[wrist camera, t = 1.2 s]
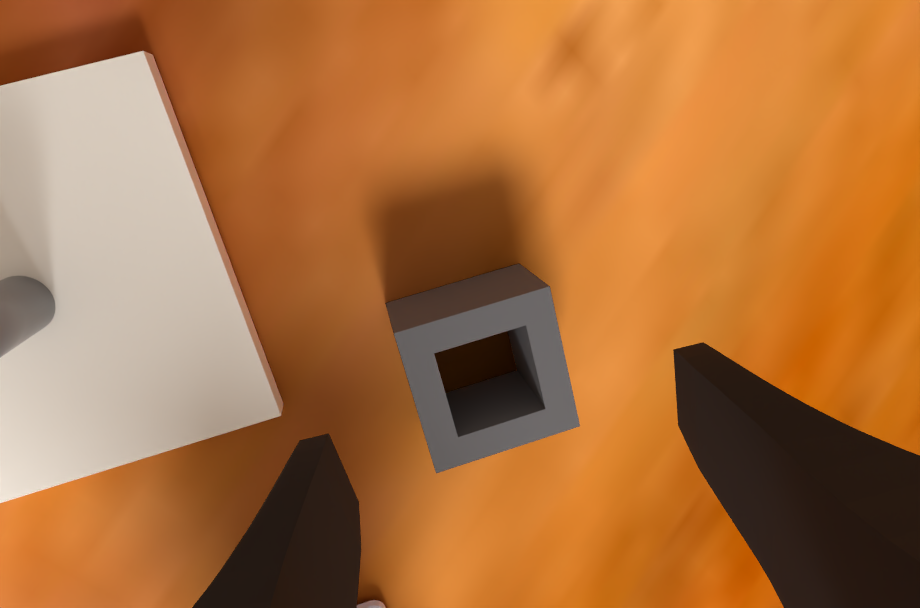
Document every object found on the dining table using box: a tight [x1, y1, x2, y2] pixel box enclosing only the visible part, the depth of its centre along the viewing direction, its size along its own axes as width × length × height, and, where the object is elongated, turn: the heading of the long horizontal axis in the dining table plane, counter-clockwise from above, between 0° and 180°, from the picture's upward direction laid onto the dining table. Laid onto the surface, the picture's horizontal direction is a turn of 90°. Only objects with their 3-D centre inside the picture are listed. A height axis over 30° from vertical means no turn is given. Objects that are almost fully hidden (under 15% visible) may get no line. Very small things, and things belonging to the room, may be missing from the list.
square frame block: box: [386, 264, 580, 473], centre depth 22 cm, size 5×5×4 cm
